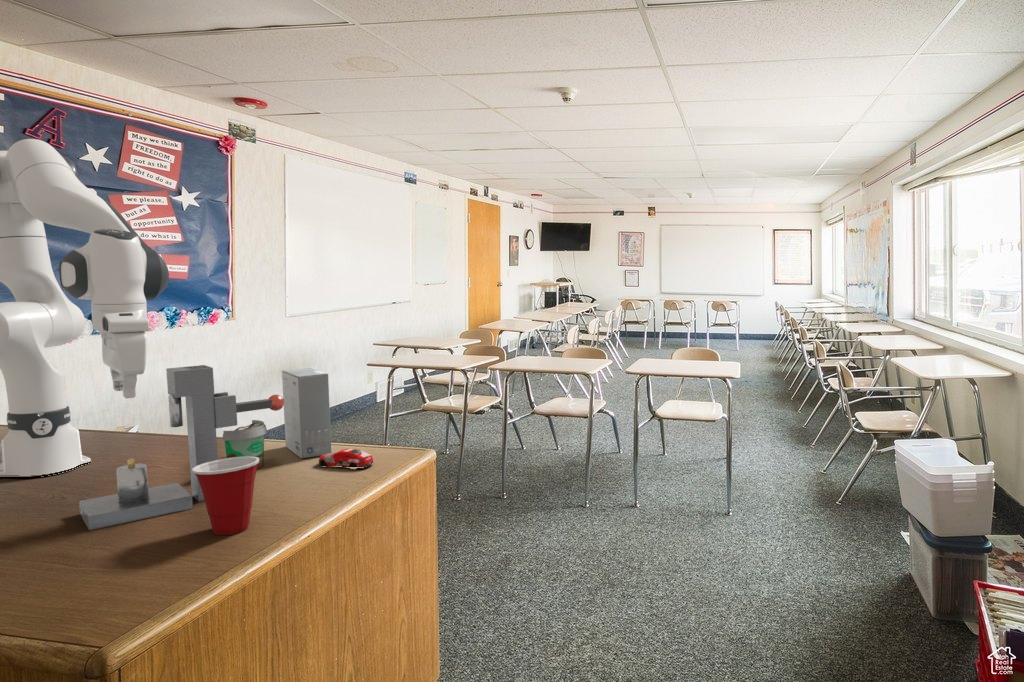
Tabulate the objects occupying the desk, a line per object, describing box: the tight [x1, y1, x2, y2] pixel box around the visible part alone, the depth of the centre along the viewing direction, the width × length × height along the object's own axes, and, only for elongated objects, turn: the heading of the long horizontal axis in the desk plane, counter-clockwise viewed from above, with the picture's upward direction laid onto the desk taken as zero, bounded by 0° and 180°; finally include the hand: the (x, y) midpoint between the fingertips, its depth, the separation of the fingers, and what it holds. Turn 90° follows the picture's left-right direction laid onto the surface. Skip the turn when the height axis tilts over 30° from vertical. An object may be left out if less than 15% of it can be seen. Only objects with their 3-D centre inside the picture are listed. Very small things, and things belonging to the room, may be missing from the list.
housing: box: [116, 458, 149, 503], centre depth 131 cm, size 5×5×8 cm
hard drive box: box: [281, 367, 333, 459], centre depth 174 cm, size 16×8×20 cm, turn 32°
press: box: [78, 364, 238, 531], centre depth 133 cm, size 11×27×26 cm, turn 129°
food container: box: [222, 419, 268, 472], centre depth 159 cm, size 12×6×10 cm, turn 168°
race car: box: [318, 448, 374, 468], centre depth 160 cm, size 13×5×4 cm, turn 69°
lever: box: [236, 394, 284, 414], centre depth 144 cm, size 3×14×3 cm, turn 129°
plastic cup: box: [192, 457, 259, 536], centre depth 121 cm, size 11×11×12 cm
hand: (124, 393), depth 129 cm, fingers open, 8 cm apart
